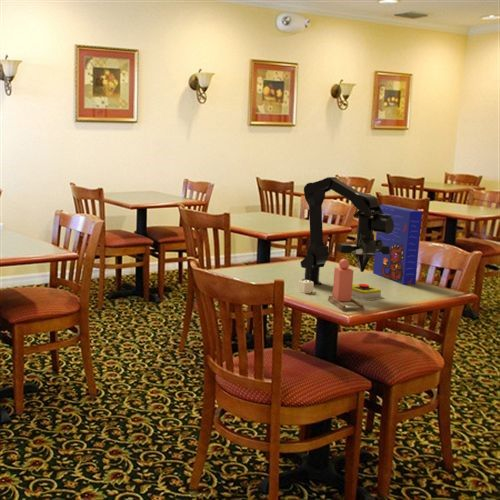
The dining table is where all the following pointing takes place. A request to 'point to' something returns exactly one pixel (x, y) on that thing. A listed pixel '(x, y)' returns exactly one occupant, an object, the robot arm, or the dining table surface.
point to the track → (346, 304)
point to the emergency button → (365, 292)
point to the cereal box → (399, 246)
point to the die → (305, 286)
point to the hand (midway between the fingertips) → (361, 271)
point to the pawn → (343, 281)
